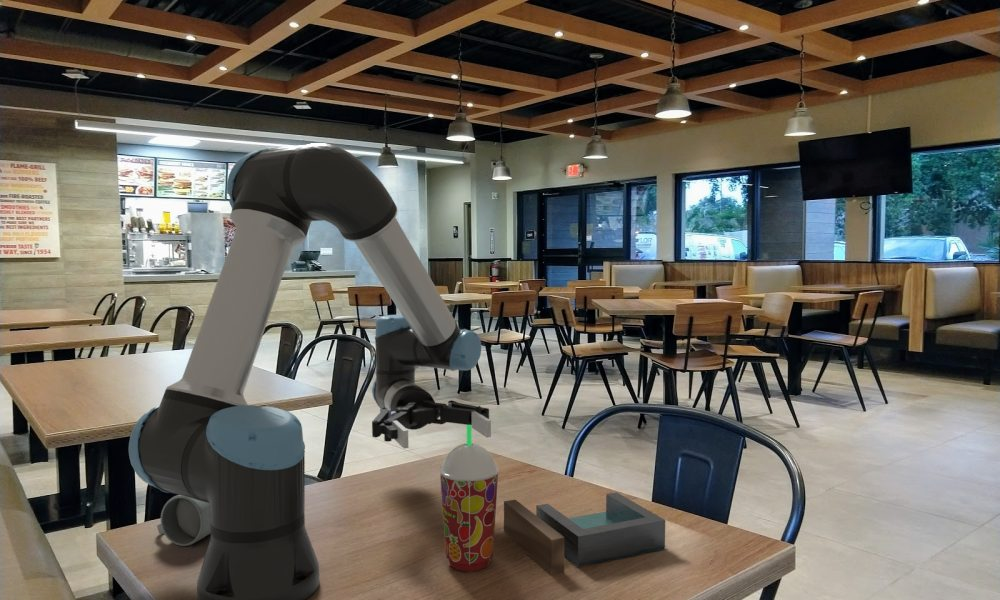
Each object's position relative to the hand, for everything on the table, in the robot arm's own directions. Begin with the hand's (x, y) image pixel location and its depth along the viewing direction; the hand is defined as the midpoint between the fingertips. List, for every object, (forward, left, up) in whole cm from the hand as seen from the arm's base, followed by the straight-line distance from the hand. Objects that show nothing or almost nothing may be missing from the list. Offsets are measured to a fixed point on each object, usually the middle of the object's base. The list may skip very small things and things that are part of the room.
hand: (448, 434), depth 105 cm
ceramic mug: (-37, +16, -17) cm, 44 cm away
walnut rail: (+9, -10, -16) cm, 21 cm away
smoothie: (-1, -10, -16) cm, 19 cm away
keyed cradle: (+20, -10, -16) cm, 28 cm away
